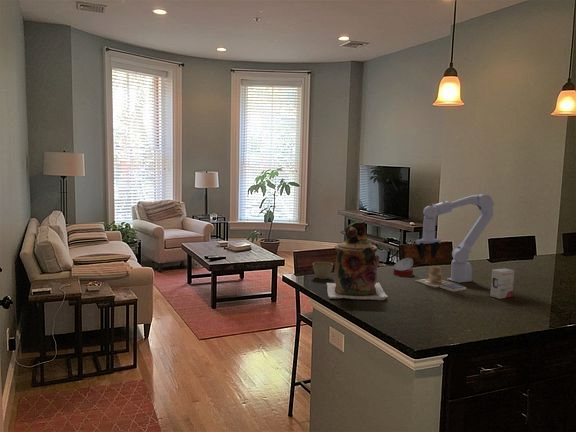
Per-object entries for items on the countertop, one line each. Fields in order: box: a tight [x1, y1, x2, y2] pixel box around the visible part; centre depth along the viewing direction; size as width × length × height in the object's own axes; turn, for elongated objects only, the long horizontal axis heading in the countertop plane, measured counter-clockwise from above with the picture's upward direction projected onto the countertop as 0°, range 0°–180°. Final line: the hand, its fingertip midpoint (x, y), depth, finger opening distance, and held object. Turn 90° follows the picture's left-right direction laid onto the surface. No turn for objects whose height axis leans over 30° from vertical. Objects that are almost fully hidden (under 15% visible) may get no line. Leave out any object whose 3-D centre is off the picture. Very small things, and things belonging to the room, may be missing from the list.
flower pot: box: [312, 261, 334, 280], centre depth 242 cm, size 10×10×7 cm
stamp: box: [427, 265, 443, 283], centre depth 236 cm, size 5×5×7 cm
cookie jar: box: [326, 219, 389, 301], centre depth 213 cm, size 25×25×32 cm
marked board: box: [414, 278, 456, 288], centre depth 236 cm, size 13×13×1 cm
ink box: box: [489, 267, 515, 300], centre depth 213 cm, size 9×5×12 cm, turn 116°
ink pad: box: [439, 283, 467, 292], centre depth 226 cm, size 8×8×1 cm
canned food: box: [392, 257, 414, 277], centre depth 254 cm, size 11×10×10 cm
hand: (427, 258), depth 244 cm, fingers open, 7 cm apart
